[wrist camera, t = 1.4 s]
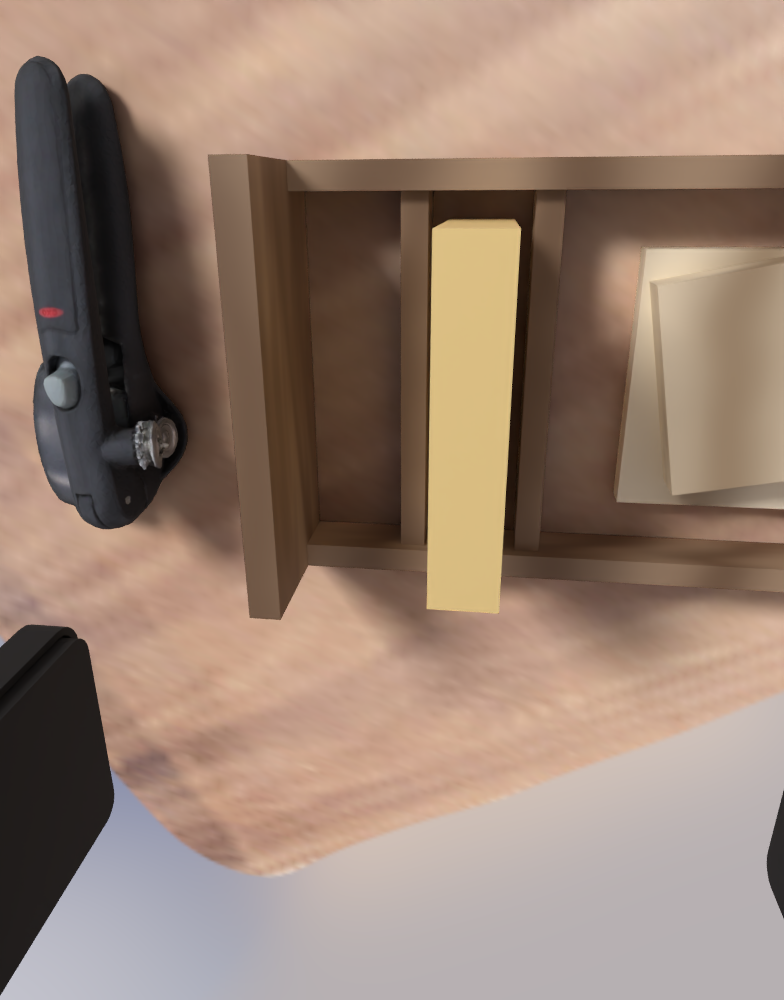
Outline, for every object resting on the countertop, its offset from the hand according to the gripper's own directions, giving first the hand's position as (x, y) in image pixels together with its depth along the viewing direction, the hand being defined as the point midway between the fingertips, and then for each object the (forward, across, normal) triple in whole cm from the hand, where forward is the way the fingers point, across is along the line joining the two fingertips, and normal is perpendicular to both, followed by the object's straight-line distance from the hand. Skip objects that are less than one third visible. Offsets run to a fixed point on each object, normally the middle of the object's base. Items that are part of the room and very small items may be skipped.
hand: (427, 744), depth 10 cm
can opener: (+23, +15, -2) cm, 28 cm away
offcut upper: (+22, -10, 0) cm, 24 cm away
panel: (+23, 0, 0) cm, 23 cm away
